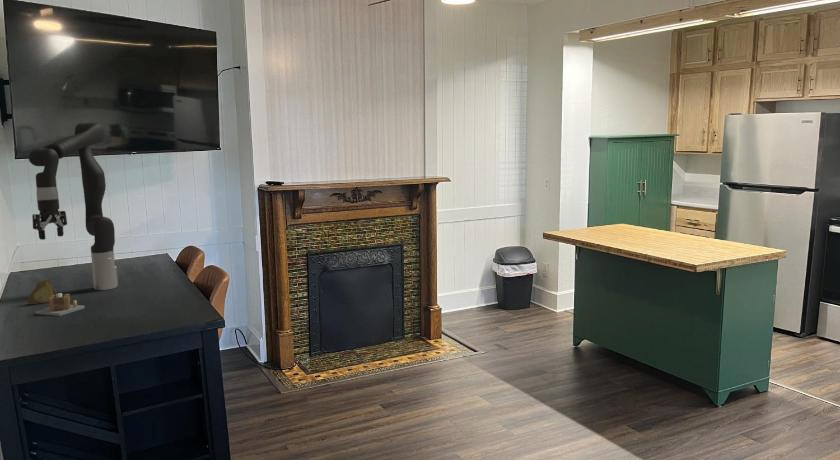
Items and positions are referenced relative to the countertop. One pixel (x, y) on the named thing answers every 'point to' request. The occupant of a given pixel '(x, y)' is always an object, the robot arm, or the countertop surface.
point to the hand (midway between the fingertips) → (51, 237)
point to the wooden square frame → (59, 302)
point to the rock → (42, 292)
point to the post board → (61, 312)
